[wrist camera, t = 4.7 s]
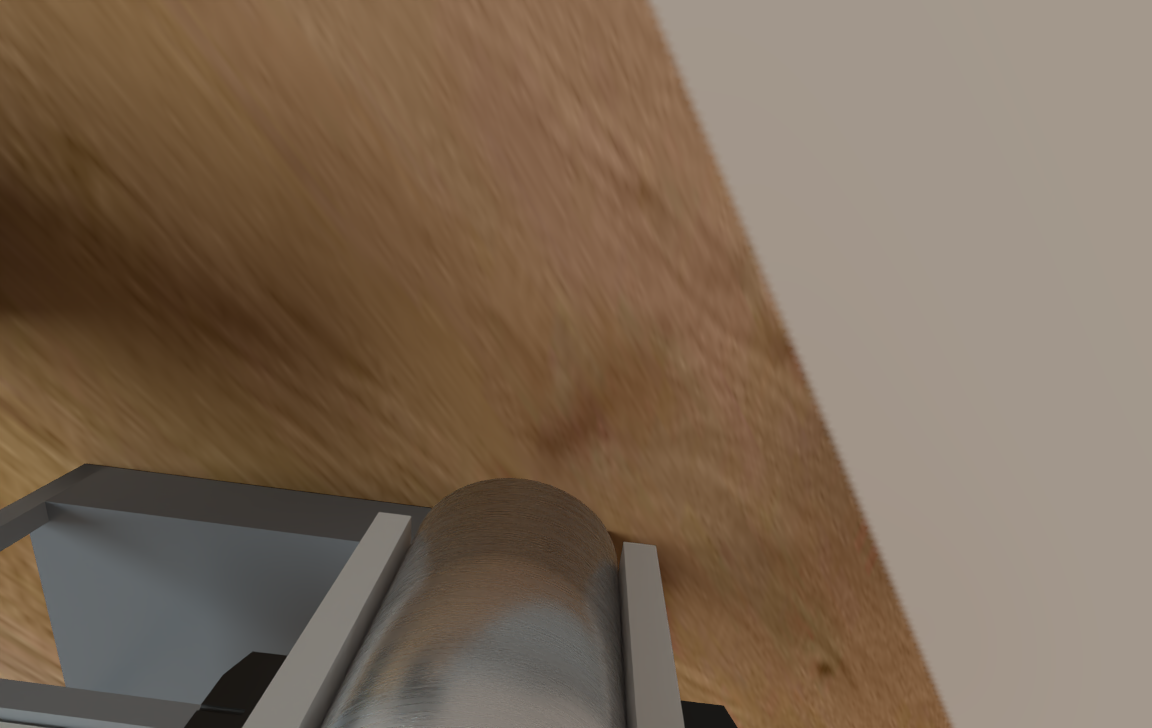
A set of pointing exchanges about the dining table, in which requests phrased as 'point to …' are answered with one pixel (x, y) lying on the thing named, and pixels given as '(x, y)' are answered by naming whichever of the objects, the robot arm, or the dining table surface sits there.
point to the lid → (16, 725)
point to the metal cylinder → (495, 620)
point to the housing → (171, 586)
